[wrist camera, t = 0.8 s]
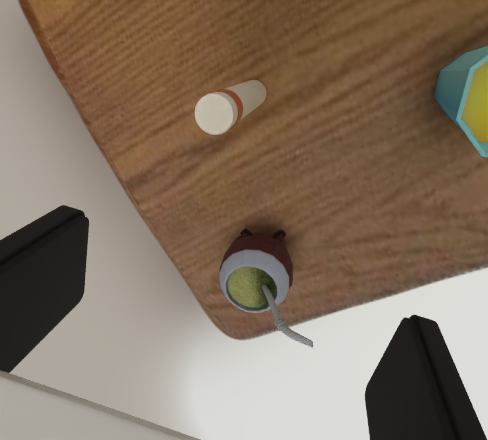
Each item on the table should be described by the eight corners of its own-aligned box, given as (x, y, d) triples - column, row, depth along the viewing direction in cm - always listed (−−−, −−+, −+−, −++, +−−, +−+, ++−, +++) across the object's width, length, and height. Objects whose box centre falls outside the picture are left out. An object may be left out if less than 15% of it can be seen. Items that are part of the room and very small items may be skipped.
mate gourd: (220, 247, 42) (170, 336, 29) (268, 200, 39) (237, 277, 26) (268, 290, 43) (242, 396, 30) (319, 248, 40) (316, 346, 27)
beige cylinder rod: (266, 78, 35) (232, 92, 22) (267, 107, 36) (235, 135, 23) (239, 79, 35) (191, 93, 22) (241, 107, 36) (195, 136, 23)
